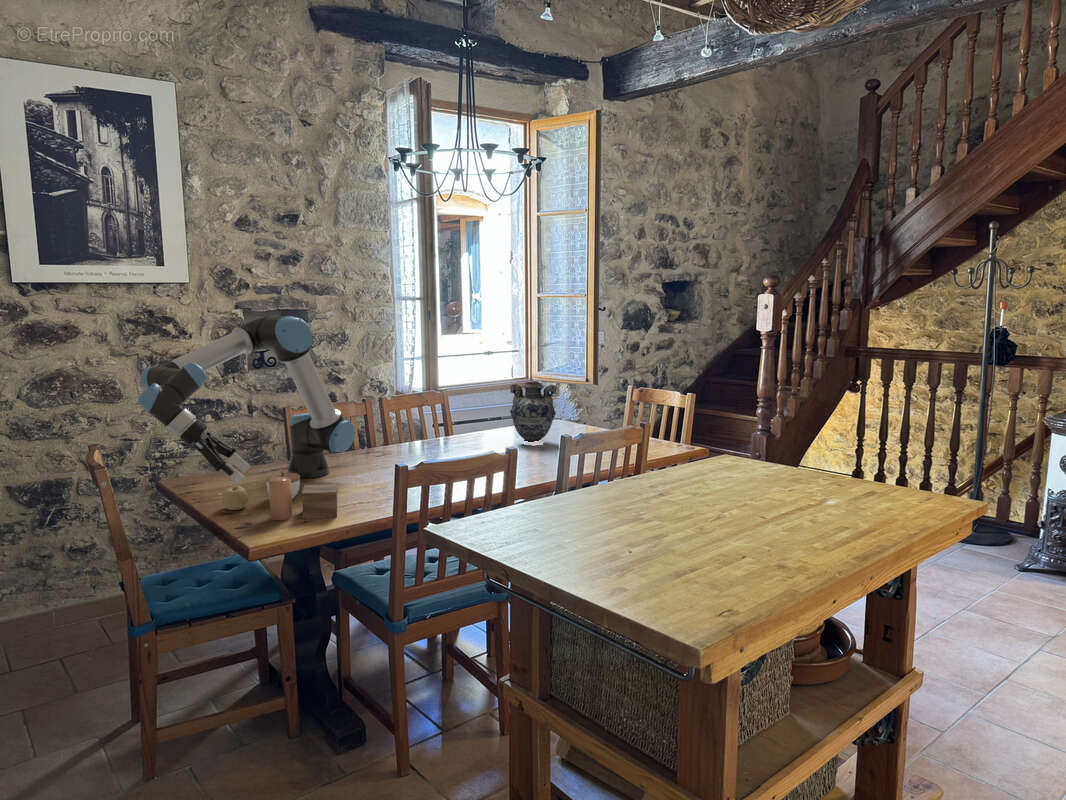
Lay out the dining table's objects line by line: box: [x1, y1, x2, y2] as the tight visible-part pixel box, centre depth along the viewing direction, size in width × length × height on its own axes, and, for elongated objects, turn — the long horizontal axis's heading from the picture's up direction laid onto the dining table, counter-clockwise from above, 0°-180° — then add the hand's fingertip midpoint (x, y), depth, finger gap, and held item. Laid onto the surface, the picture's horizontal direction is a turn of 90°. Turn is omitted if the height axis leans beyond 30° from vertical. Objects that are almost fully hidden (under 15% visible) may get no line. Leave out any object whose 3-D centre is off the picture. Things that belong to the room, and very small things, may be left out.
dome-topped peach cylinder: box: [268, 477, 293, 521], centre depth 229 cm, size 6×6×12 cm
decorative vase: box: [509, 381, 558, 442], centre depth 340 cm, size 21×19×28 cm
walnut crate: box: [301, 483, 339, 520], centre depth 234 cm, size 10×10×8 cm
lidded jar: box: [265, 470, 301, 500], centre depth 249 cm, size 11×11×9 cm
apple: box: [221, 485, 249, 511], centre depth 238 cm, size 8×8×8 cm
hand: (244, 475), depth 225 cm, fingers open, 13 cm apart
